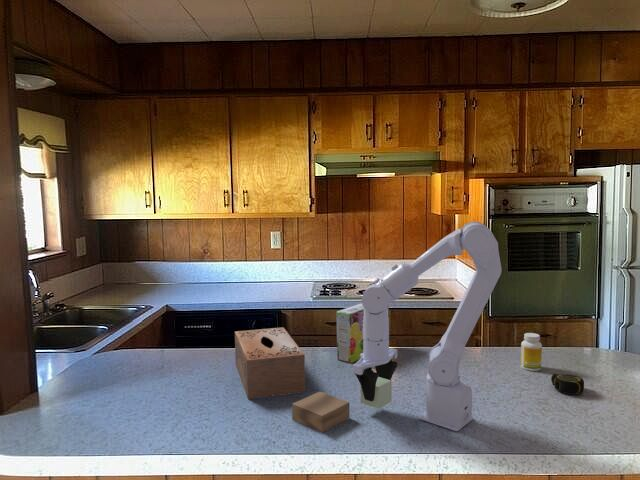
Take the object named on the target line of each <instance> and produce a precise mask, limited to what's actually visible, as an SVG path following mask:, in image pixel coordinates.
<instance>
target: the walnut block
mask: <svg viewBox="0 0 640 480" xmlns="http://www.w3.org/2000/svg"><path fill="white" fill-rule="evenodd" d="M291 413H292V417H291V418H292V419H291V420H292V421H294V422H296V423H299V424H301V425H304V426H306V427H308V428H311V429H313V430H315V431H317V432H319V433H324V432H326V431H328V430H330V429H332V428H334V427H336V426H337V425H340V424H341V423H344V422H345V421H347V420H349V419H350V402H349V401H347V400H344V399H341V398H338V397H336V396H333V395H331V394H328V393H325V392H322V391H317V392H316V393H313V394H311V395H309V396H306V397H304V398H302V399H300V400H298V401H295V402H293V403H292V404H291ZM348 418H349V419H348Z"/></svg>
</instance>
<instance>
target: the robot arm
mask: <svg viewBox="0 0 640 480" xmlns="http://www.w3.org/2000/svg"><path fill="white" fill-rule="evenodd" d="M463 250H464V251H466V253H467V254H468V255H469V256H470V257H471V259H472V262H473V264H474V267H475V272H474V274H473V276H472V278H471V280H470V282H469V284H468V286H467V288H466V291H465V293H464V295H463V297H462V299H461V301H460V302H459V305H458V307H457V309H456V310H455V312H454V315H453V317H452V319H451V320H450V323H449V325H448V327H447V329H446V331H445V333H444V334H443V335H442V337H441V339H440V340H439V342H438V343H437V344H435V345H434V346H432V347H431V349H430V351H429V353H428V359H429V362H428V363H429V364H428V370H427V372H428V373H427V374H426V377H425V378H426V383H425V384H426V387H425V388H426V389H425V390H426V391H425V394H426V395H425V397H426V398H425V411H424V412H423V413H421V414H419V415H418V417H417V418H418V419H419V420H421V421H425V422H428V423H430V424H433V425H436V426H439V427H442V428H445V429H448V430H452V431H453V432H454V431H455V432H458V431H459V430H461V429H463V427H465V426H466V425H467V424H468V423H470V422H471V421H472V420H473V419H474V417H473V390H472V387H471V386H469V385H468V384H466V383H464V382H462V381H461V378H460V375H459V373H460V363H461V360H462V359H463V355H464V351H465V348H466V345H467V343H468V340H469V338H470V337H471V335H472V332H473V331H474V328H475V327H476V324H477V323H478V320H479V318H480V317H481V315H482V313H483V311H484V308H485V307H486V305H487V303H488V301H489V299H490V297H491V295H492V293H493V291H494V289H495V287H496V286H497V285H496V284H497V283H498V281H499V279H500V276H501V275H502V263H501V258H500V251H499V242H498V240H497V239H496V237H495V235H494V234H493V232H492V230H491V229H490V228H489V227H487V225H485V224H484V223H482V222H480V221H471V222H467V223H466V224H464V225H463V226H462V228H458V229H456V230H454V231H452V232H451V233H449V234H448V235H446V236H444V237H443V238H442V239H440V240H439V241H438V242H436V244H434V245H432V246H431V247H430V248H429V249H427V250H426V251H425V252H424V253H423V254H421V255H420V256H419V257H417V258H416V259H415V260H414V261H412V262H411V263H406V262H405V263H404V262H402V263H400V264H397V263H394V264H393V265H392V266H391V268H390V269H391V270H390V271H389V272H387V273H386V274H385V275H383V276H382V277H380V278H379V277H377V278H376V279H374V283H372V284H370V285H369V286H367V288H366V289H365V290H364V292H363V293H362V295H361V296H362V297H361V303H362V305H363V307H364V318H363V353H361V354H360V357H361V358H360V359H358V360H357V361H356V363H354V364H352V372H353V374H354V375H355V377H356V378H357V380H358V381H359V384H360V388H361V387H362V391H363V395H364V398H365V400H368V401H371V402H372V401H374V397H375V386H376V382H377V378H378V377H381V378H385V379H388V380H392V378H393V375H394V373H395V371H396V369H397V367H398V361H395V360H393V359H397V358H398V349H395V348H391V347H390V317H388V314H389V302H394V301H397V299H399V298H400V297H402V296H403V295H404V294H405V293H407V292H409V291H410V290H411V289H412V288H414V287H416V286H417V285H418V284H419V277H420V276H421V275H423V273H426V272H427V271H428V270H430V269H431V268H433V267H434V266H436V265H437V264H438V263H441V261H443V260H444V259H446V258H447V257H449V256H463V255H464V253H463ZM373 368H375V371H374V370H373Z"/></svg>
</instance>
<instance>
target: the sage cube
mask: <svg viewBox="0 0 640 480" xmlns="http://www.w3.org/2000/svg"><path fill="white" fill-rule="evenodd" d="M392 381H393V380H392V379H391V380H388V379H385V378H381V377H378V378H377V382H376V386H375V397H374V401H372V402H371V401H368V400H365V398H364V395H363V391H362V387H361V386H360V404H364V405H365V406H369V407H371V408H375V409H377V410H379V409H382V408H383V407H385V406H387V405H389V404H390V403H392V399H393V397H392V396H393V395H392V394H393V393H392V388H393V387H392V385H393V384H392V383H393V382H392Z"/></svg>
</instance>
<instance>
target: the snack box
mask: <svg viewBox="0 0 640 480" xmlns="http://www.w3.org/2000/svg"><path fill="white" fill-rule="evenodd" d="M389 314H390V313H388V317H389ZM335 316H336V318H335V319H336V346H337V347H336V349H337V351H336V355H337V357H336V358H337V361H340V362H345V363H350V364H352V363H354V362H357V361H359V360H360V359H361V357H360V354H361V353H363V318H364V307H363V305H362V302H361V303H358V304H355V305H352V306H350V307H349V306H348V307H346V308H343V309H340V310H337V311H336V315H335ZM389 318H390V317H389Z"/></svg>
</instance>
